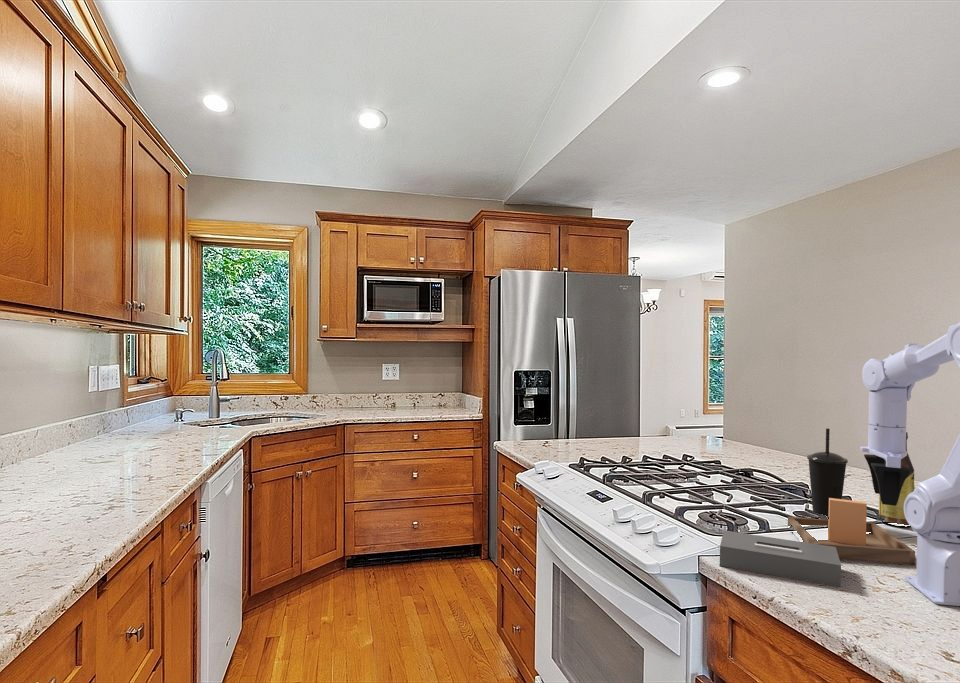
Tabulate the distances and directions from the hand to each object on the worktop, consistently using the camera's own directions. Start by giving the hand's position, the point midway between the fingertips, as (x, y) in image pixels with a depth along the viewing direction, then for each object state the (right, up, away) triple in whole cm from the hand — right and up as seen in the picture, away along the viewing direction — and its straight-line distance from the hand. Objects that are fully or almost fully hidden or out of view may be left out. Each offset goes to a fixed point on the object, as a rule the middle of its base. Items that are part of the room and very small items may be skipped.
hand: (885, 499), depth 107 cm
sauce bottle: (+15, -10, +18) cm, 26 cm away
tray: (-4, -10, +5) cm, 12 cm away
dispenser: (-23, -10, -6) cm, 25 cm away
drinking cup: (+1, -10, +20) cm, 23 cm away
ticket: (-4, -10, +5) cm, 12 cm away
